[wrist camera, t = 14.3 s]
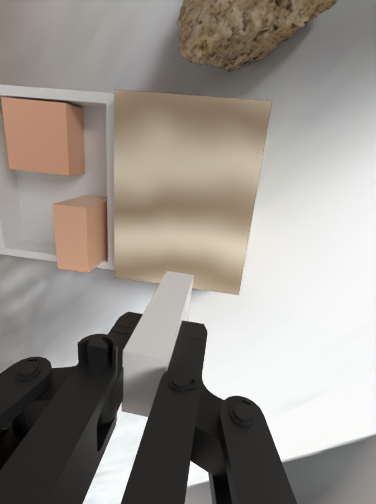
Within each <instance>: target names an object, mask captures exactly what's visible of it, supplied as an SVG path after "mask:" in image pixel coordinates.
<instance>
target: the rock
mask: <svg viewBox="0 0 376 504" xmlns="http://www.w3.org/2000/svg"><path fill="white" fill-rule="evenodd" d="M337 1H338V0H184V1H183V5H182V7H181V10H180V17H179V19H178V21H177V24H178V27H179V52H180V54H181V56H182V57H183V58H185V59H187V60H188V61H189V62H193V63H198V64H200V65H201V64H210V65H214V66H217V67H218V66H220V67H221V68H223V69H224V70H227V71H233V70H234V69H239V68H241V67H244V66H246V65H248V64H249V63H251V62H253V61H259V60H262V59H264V58H265V57H266V56H268V55H269V54H270V53H271V52H272V51H273V50H274V49H275V48H276V47H277V46H278V45H279V44H280V43H281V42H282V41H285V40H287V39H289V38H290V37H291V36H292V35H293V33H294V32H295V31H296V30H297V29H299V28H302V27H305V26H306V24H307V23H308V22H309V21H310V20H312V19H313V18H315V17H317V16H318V15H319V14H320V13H322V12H324V11H325V10H327V9H330V8H331V7H332V6H333V5H334V4H335V3H337Z"/></svg>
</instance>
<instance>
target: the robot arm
mask: <svg viewBox="0 0 376 504" xmlns="http://www.w3.org/2000/svg"><path fill="white" fill-rule="evenodd" d="M193 277H194V275H190V274H183V273H177V272H171V271H167V272H166V274H165V276H164V277H163V279H162V281H161V283H160V285H159V286H158V288H157V290H156V292H155V294H154V295H153V297H152V299H151V301H150V303H149V305H148V306H147V308H146V310H145V312H144V314H138V313H133V312H127V313H125V314H124V315H122V316H121V317H119V319H118V320H117V322H116V323H115V325H114V326H113V327H112V329H111V330H110V332H109V333H108V335H106V334H94V335H90V336H87V337H85V338H83V339H82V340H81V341H80V342H78V360H79V363H78V364H77V366H73V367H64V368H52V367H51V363H50V361H48V360H47V359H46V358H42V357H30V358H26V359H23V360H21V361H19V362H17V363H15V364H13V365H12V366H10V367H9V368H8V369H6V370H5V371H3V372H2V373H0V504H83V501H84V499H85V496H86V494H87V492H88V489H89V487H90V485H91V482H92V480H93V478H94V475H95V473H96V471H97V468H98V466H99V463H100V461H101V459H102V456H103V454H104V452H105V449H106V447H107V445H108V442H109V440H110V438H111V435H112V433H113V430H114V428H115V425H116V421H117V411H118V409H119V407H120V404H121V402H122V411H123V412H128V413H132V414H137V415H142V416H146V417H148V420H147V423H146V426H145V430H144V433H143V436H142V439H141V442H140V445H139V448H138V451H137V455H136V458H135V461H134V464H133V467H132V470H131V473H130V477H129V480H128V483H127V486H126V489H125V492H124V495H123V498H122V502H121V504H184V503H185V495H186V488H187V481H188V474H189V466H190V461H192V462H193V463H195V464H197V465H198V466H200V467H201V468H203V469H204V470H206V471H207V472H208V474H209V481H210V488H211V495H212V503H213V504H297V503H296V500H295V497H294V494H293V492H292V489H291V486H290V484H289V481H288V478H287V476H286V473H285V470H284V468H283V465H282V462H281V460H280V457H279V454H278V452H277V449H276V446H275V444H274V441H273V438H272V436H271V433H270V430H269V428H268V425H267V423H266V420H265V417H264V415H263V413H262V411H261V409H260V408H259V407H258V406H257V405H256V404H255V403H254V402H253V401H251V400H249V399H247V398H245V397H241V396H232V397H228V398H227V399H225V400H222V399H220V398H218V397H217V396H215V395H213V394H212V393H211V392H209V391H208V390H207V389H206V387H205V385H204V384H203V381H202V370H203V362H204V355H205V347H206V340H207V330H206V328H205V326H204V324H200V323H194V322H188V318H189V310H190V302H191V294H192V285H193Z"/></svg>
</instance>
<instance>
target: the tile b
mask: <svg viewBox="0 0 376 504" xmlns="http://www.w3.org/2000/svg"><path fill="white" fill-rule="evenodd" d="M52 205H53V218H54V230H55V242H56V255H57V267H58V269H63V270H70V271H77V272H84V273H89V272H90V271H92V270H93V269H94V268H95V267H97V266H98V265H99V264H100V263H101V262H103V261H104V260H105V259H106V258H107V257H108V224H107V197H101V196H92V195H84V196H80V197H77V198H73V199H69V200H65V201H61V202H58V203H54V204H52Z"/></svg>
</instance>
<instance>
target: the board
mask: <svg viewBox="0 0 376 504" xmlns="http://www.w3.org/2000/svg"><path fill="white" fill-rule="evenodd" d="M271 105H272V101H267V100H253V99H239V98H226V97H212V96H198V95H185V94H171V93H157V92H144V91H130V90H116V89H114V277H117V278H124V279H131V280H138V281H145V282H152V283H159V284H160V283H161V281H162V279H163V277H164V276H165V274H166V272H167V271H171V272H177V273H183V274H190V275H194V277H193V285H192V288H193V289H200V290H207V291H214V292H221V293H228V294H235V295H239V290H240V285H241V279H242V273H243V267H244V261H245V256H246V250H247V244H248V238H249V232H250V227H251V221H252V215H253V209H254V203H255V197H256V192H257V186H258V180H259V174H260V168H261V163H262V157H263V151H264V145H265V139H266V134H267V128H268V122H269V116H270V110H271Z"/></svg>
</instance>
